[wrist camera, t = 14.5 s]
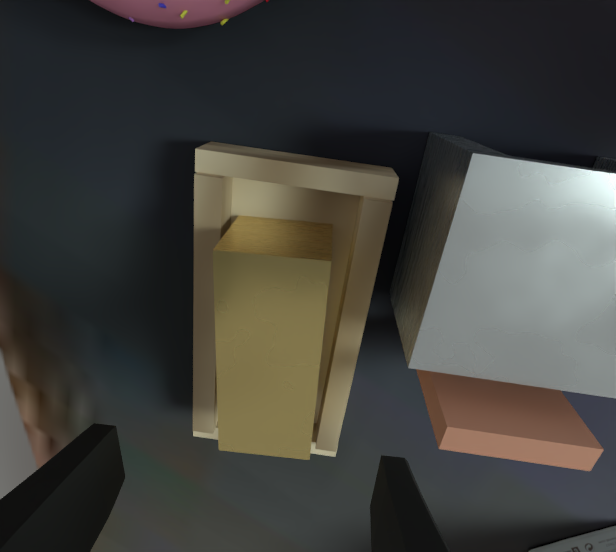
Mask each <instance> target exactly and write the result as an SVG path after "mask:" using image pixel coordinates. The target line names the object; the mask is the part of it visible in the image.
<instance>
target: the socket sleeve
mask: <svg viewBox="0 0 616 552" xmlns="http://www.w3.org/2000/svg"><path fill="white" fill-rule="evenodd" d="M389 295H390V299H391V303H392V307H393V311H394V314H395V318H396V322H397V326H398V330H399V334H400V338H401V342H402V346H403V350H404V354H405V358H406V362H407V366H408V368H412V369H419V370H426V371H433V372H439V373H446V374H453V375H460V376H467V377H474V378H480V379H487V380H494V381H501V382H508V383H514V384H521V385H528V386H535V387H542V388H549V389H555V390H562V391H569V392H576V393H583V394H590V395H596V396H603V397H610V398H616V159H612V158H605V157H599V156H597V158H596V161H595V163H594V165H593V168H590V167H583V166H576V165H570V164H563V163H556V162H549V161H542V160H535V159H528V158H521V157H515V156H508V155H506V154H503V153H501V152H498V151H496V150H493V149H491V148H488V147H486V146H483V145H481V144H478V143H476V142H473V141H471V140H468V139H466V138H464V137H461V136H454V135H447V134H440V133H434V132H429V136H428V140H427V144H426V148H425V152H424V156H423V160H422V164H421V168H420V172H419V176H418V180H417V184H416V188H415V192H414V196H413V200H412V204H411V208H410V212H409V216H408V220H407V224H406V228H405V232H404V236H403V240H402V244H401V248H400V252H399V256H398V260H397V264H396V268H395V272H394V276H393V280H392V284H391V288H390V292H389Z"/></svg>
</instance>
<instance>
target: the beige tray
mask: <svg viewBox="0 0 616 552" xmlns="http://www.w3.org/2000/svg"><path fill="white" fill-rule="evenodd" d="M195 172H197V173H195V174H194V301H193V436H197V437H204V438H211V439H218V409H217V376H216V343H215V310H214V277H213V249H214V248H215V246H216V245H217V244H218V242H219V241H220V240H221V238H222V237H223V236H224V234H225V233H226V232H227V230H228V229H229V228H230V226H231V225H232V224H233V222H234V221H235V220H236V219H237V217H238V216H239V215H242V216H253V217H264V218H274V219H285V220H296V221H306V222H317V223H328V224H333V228H332V262H331V271H330V280H329V289H328V298H327V307H326V316H325V325H324V334H323V343H322V352H321V361H320V370H319V379H318V388H317V397H316V406H315V415H314V424H313V433H312V442H311V451H310V453H313V454H320V455H326V456H333V457H335V456H336V451H337V447H338V440H339V436H340V432H341V427H342V423H343V418H344V414H345V410H346V405H347V401H348V397H349V392H350V388H351V383H352V379H353V375H354V370H355V366H356V362H357V357H358V353H359V349H360V344H361V340H362V335H363V331H364V327H365V322H366V318H367V314H368V309H369V305H370V300H371V296H372V292H373V287H374V283H375V279H376V274H377V270H378V265H379V261H380V257H381V252H382V248H383V244H384V239H385V235H386V230H387V226H388V222H389V217H390V213H391V209H392V204H393V203H392V201H391V200H393V201H394V199H395V194H396V190H397V186H398V181H399V177H398V176H397V174H396V173H395V172H394V170H393V169H392V168H390V167H383V166H376V165H369V164H362V163H356V162H349V161H342V160H335V159H328V158H321V157H314V156H308V155H301V154H294V153H287V152H280V151H273V150H266V149H259V148H253V147H246V146H239V145H232V144H225V143H218V142H209V143H207V144H205V145H202V146H200V147H198V148H195Z"/></svg>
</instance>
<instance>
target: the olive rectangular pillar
mask: <svg viewBox="0 0 616 552" xmlns="http://www.w3.org/2000/svg"><path fill="white" fill-rule="evenodd" d="M332 228H333V224H328V223H317V222H306V221H296V220H285V219H274V218H264V217H253V216H242V215H239V216H238V217H237V219H236V220H235V221H234V222H233V224H232V225H231V226H230V228H229V229H228V230H227V232H226V233H225V234H224V236H223V237H222V238H221V240H220V241H219V242H218V244H217V245H216V246H215V248H214V249H213V277H214V310H215V343H216V376H217V409H218V442H219V450H222V451H232V452H241V453H250V454H259V455H268V456H278V457H287V458H296V459H305V460H310V451H311V442H312V433H313V424H314V415H315V406H316V397H317V388H318V379H319V370H320V361H321V352H322V343H323V334H324V325H325V316H326V307H327V298H328V289H329V280H330V271H331V262H332Z"/></svg>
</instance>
